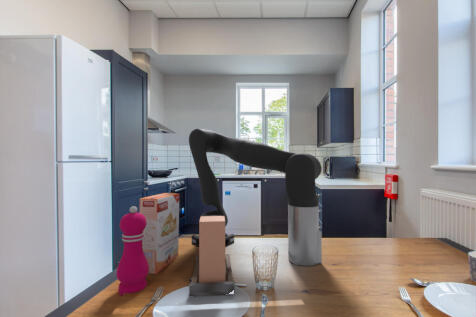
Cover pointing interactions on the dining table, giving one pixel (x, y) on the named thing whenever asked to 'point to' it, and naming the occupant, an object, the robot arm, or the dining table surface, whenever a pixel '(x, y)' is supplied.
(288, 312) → the dining table surface
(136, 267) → the pepper mill
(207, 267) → the block
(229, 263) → the chute
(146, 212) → the cracker box
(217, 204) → the robot arm
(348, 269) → the dining table surface
